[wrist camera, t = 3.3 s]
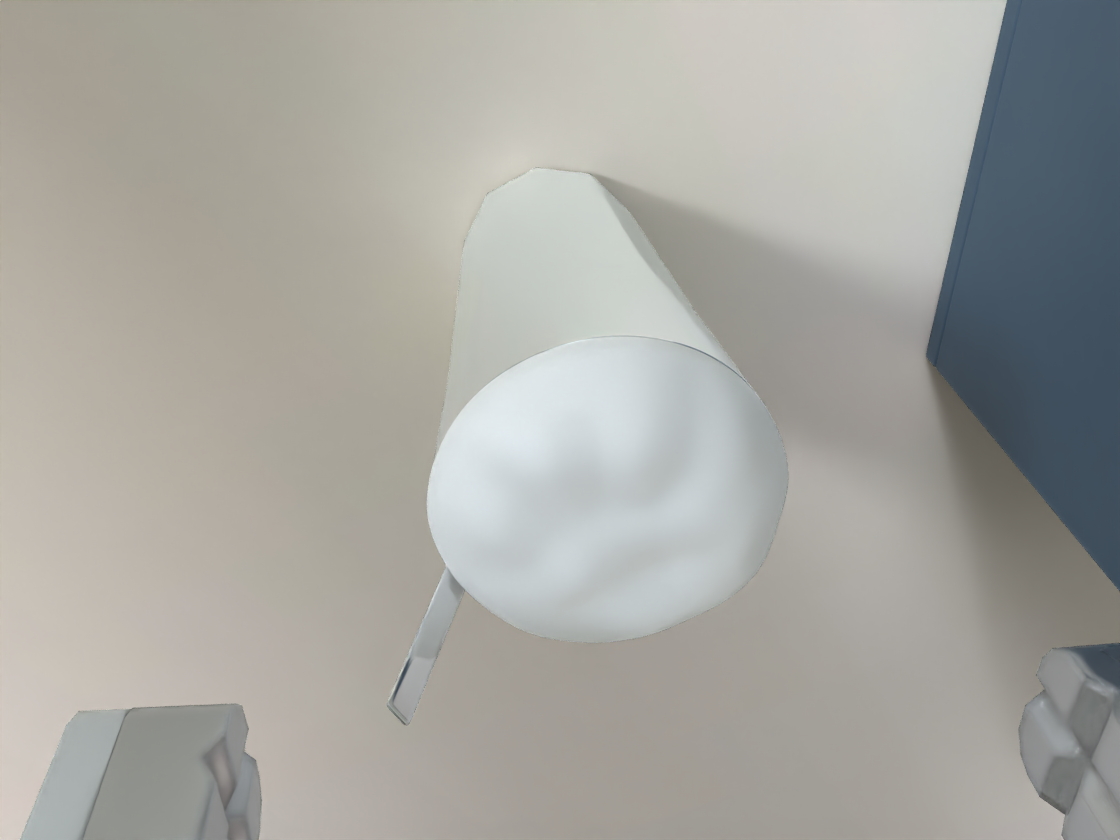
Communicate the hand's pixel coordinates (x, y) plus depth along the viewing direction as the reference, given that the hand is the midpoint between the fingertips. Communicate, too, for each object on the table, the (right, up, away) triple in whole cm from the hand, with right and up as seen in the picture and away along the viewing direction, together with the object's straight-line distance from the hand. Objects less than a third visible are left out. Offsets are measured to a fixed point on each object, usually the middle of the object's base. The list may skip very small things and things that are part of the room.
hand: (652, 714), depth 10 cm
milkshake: (-2, +6, +9) cm, 11 cm away
